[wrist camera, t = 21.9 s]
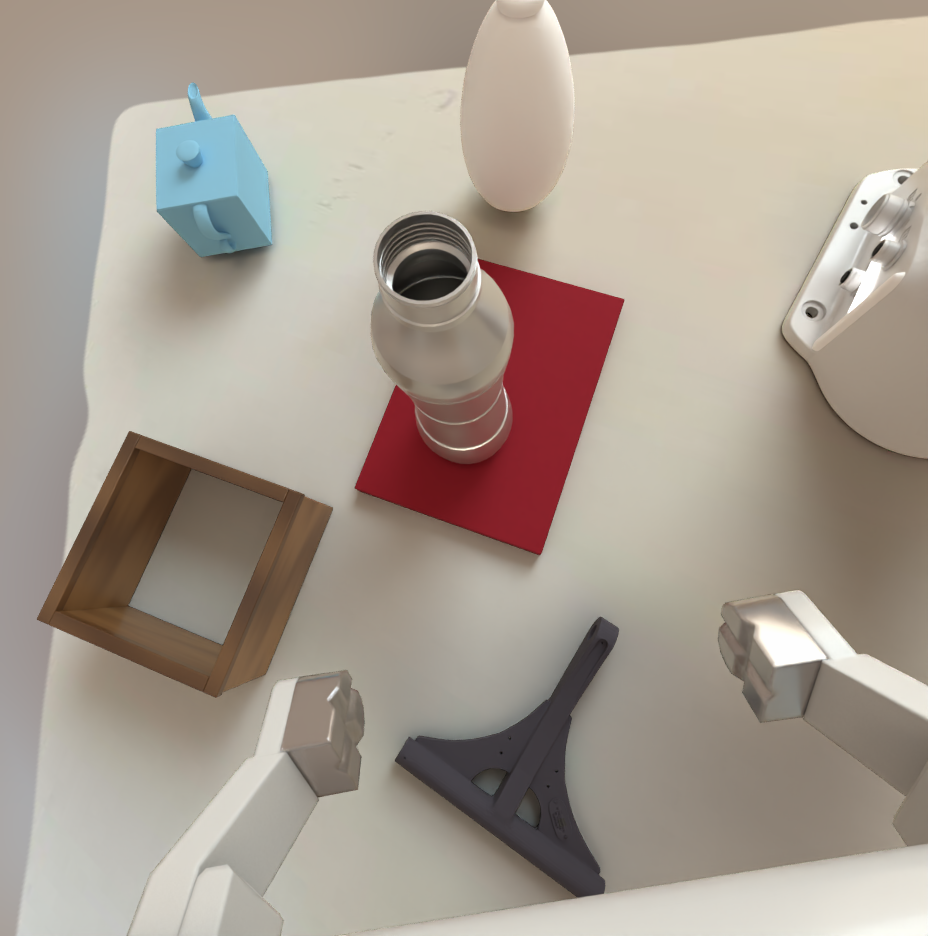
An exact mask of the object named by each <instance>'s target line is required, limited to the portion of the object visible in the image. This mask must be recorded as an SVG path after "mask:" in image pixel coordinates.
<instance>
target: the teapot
mask: <svg viewBox="0 0 928 936" xmlns="http://www.w3.org/2000/svg"><path fill="white" fill-rule="evenodd" d="M188 98H189V102H190V105H191V109H192V112H193V115H194V119H195V122H191V123H186V124H181V125H175V126H170V127H165V128H160V129H156V205H157V212H158V213H159V214H160V215H161V216H162V217H163V218H164V219H165V220H166V222H167V223H168V224H169V225H170V226H171V227H172V228H173V229H174V230H175V231H176V232H177V233H178V234H179V235H180V236H181V237H182V238H183V239H184V240H185V241H186V243H187V244H188V245H189V246H190V247H191V248H192V249H193V250H194V251H195V252H196V253H197V254H198V255H199V256H200V257H204V256H210V255H216V254H222V253H233V252H234V251H239V250H245V249H251V248H256V247H262V246H268V245H272V235H271V218H270V202H269V186H268V171H267V169H266V168H265V166H264V164H263V163H262V161H261V159H260V157H259V156H258V154H257V152H256V151H255V149H254V147H253V145H252V144H251V142H250V140H249V139H248V137H247V135H246V133H245V132H244V130H243V128H242V127H241V125H240V123H239V121H238V120H237V118H236V116H235V115H230V116H225V117H219V118H213V119H212V117H211V116H210V114H209V113H208V111H207V109H206V108H205V106H204V104H203V101H202V99H201V96H200V93H199V89H198V87H197V85H196V84H195V83H191V84H190V85H189V87H188Z"/></svg>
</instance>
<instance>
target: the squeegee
mask: <svg viewBox="0 0 928 936" xmlns="http://www.w3.org/2000/svg"><path fill="white" fill-rule="evenodd" d="M618 633H619V628H617V627H616V626H615V625H613V624H611V623H610V622H608V621H607V620H605V619H604V618H602V617H599V618H598V619H597V620H596V621H595V622H594V624H593V625H592V627H591V628H590V630H589V631H588V633H587V635H586V636H585V638H584V640H583V642H582V643H581V645H580V647H579V649H578V650H577V652H576V654H575V656H574V657H573V659H572V661H571V662H570V664H569V666H568V668H567V669H566V671H565V673H564V675H563V676H562V678H561V680H560V682H559V683H558V685H557V687H556V689H555V690H554V692H553V694H552V696H551V697H550V699H549V701H548V700H545V701H544V702H543V703H542V704H541V705H540V706H539V707H538V708H536V709H535V710H534V711H533V712H532V713H531V714H530V715H528V716H527V717H526V718H524V719H523V720H521V721H520V722H519V723H517V724H515V725H513V726H511V727H510V728H508V729H506V730H504V731H502V732H500V733H497V734H493V735H489V736H486V737H481V738H476V739H468V740H444V739H436V738H430V737H424V736H418V737H417V738H416V740H413V739H412V738H410V737H409V738H408V739H407V741H406V742H405V744H404V746H403V747H402V749H401V751H400V752H399V754H398V756H397V757H396V759H395V762H397V763H398V764H399V765H401V766H402V767H403V768H405V769H406V770H407V771H409V772H410V773H411V774H413V775H414V776H415V777H417V778H418V779H419V780H421V781H422V782H423V783H425V784H426V785H427V786H429V787H430V788H432V789H433V790H434V791H436V792H437V793H438V794H440V795H441V796H442V797H444V798H445V799H446V800H448V801H449V802H450V803H452V804H453V805H454V806H456V807H457V808H458V809H460V810H461V811H462V812H464V813H465V814H466V815H468V816H469V817H470V818H472V819H473V820H474V821H476V822H477V823H478V824H480V825H481V826H482V827H484V828H485V829H487V830H488V831H489V832H491V833H492V834H493V835H495V836H496V837H497V838H499V839H500V840H501V841H503V842H504V843H505V844H507V845H508V846H509V847H511V848H512V849H513V850H515V851H516V852H517V853H519V854H520V855H521V856H523V857H524V858H525V859H527V860H528V861H529V862H531V863H532V864H533V865H535V866H536V867H537V868H539V869H540V870H542V871H543V872H544V873H546V874H547V875H548V876H550V877H551V878H552V879H554V880H555V881H556V882H558V883H559V884H560V885H562V886H563V887H564V888H566V889H567V890H568V891H570V892H571V893H572V894H574V895H575V896H576V897H578V898H580V897H586V896H593V895H599V894H604V891H605V880H604V879H603V878H602V877H600V876H599V873H600V867H599V865H598V864H597V862H596V860H595V859H594V857H593V856H592V854H591V852H590V851H589V849H588V847H587V845H586V843H585V842H584V840H583V838H582V836H581V834H580V832H579V829H578V827H577V825H576V822H575V820H574V817H573V814H572V811H571V807H570V804H569V799H568V795H567V789H566V784H565V751H566V743H567V737H568V733H569V729H570V724H571V720H572V718H571V716H570V714H571V712H572V710H573V709H574V707H575V705H576V704H577V702H578V700H579V699H580V697H581V696H582V694H583V693H584V691H585V690H586V688H587V687H588V685H589V683H590V682H591V680H592V679H593V677H594V676H595V674H596V673H597V671H598V670H599V668H600V666H601V665H602V663H603V662H604V660H605V659H606V658H607V656H608V655H609V653H610V652H611V650H612V649H613V647H614V645H615V642H616V640H617V637H618ZM508 737H511V738H508ZM500 752H502V753H500ZM490 768H498V769H502V770H505V771H507V774H506V776H505V778H504V779H503V781H502V783H501V785H500V786H499V788H498V790H497V791H496V793H495V794H494V795H493V796H491V795H489V794H487V793H486V792H484V791H483V790H481V789H480V788H479V787H477V786H476V785H475V784H473V783H472V782H471V780H472V779H473V778H474V777H475V776H476V775H477V774H478V773H480V772H481V771H483V770H486V769H490ZM555 770H557V771H555ZM547 785H549V786H547ZM528 787H529V788H531V789H532V790H533V792H534V793H535V795H536V796H537V798H538V800H539V803H540V807H541V816H540V821H539V824H538V827H537V829H535V828H533V827H532V826H531V825H529V824H528V823H527V822H525V821H524V820H522V819H521V818H520V817H519V816H518V815H516V814H515V812H516V810H517V808H518V806H519V804H520V802H521V801H522V799H523V797H524V795H525V793H526V791H527V789H528Z"/></svg>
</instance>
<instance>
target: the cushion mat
mask: <svg viewBox="0 0 928 936" xmlns="http://www.w3.org/2000/svg"><path fill="white" fill-rule="evenodd" d="M478 263H479V266H480V269H482V270H484V271H485V272H486V273H487V274H488V275H489V276H490V277H491V278H492V279H493V280H494V281H495V283H496V284H497V285H498V287H499V288H500V290H501V291H502V293H503V295H504V296H505V298H506V300H507V302H508V305H509V307H510V309H511V313H512V317H513V322H514V338H513V344H512V349H511V354H510V358H509V361H508V364H507V366H506V369H505V372H504V375H503V386H504V388H505V390H506V392H507V395H508V397H509V400H510V403H511V407H512V426H511V430H510V433H509V435H508V437H507V439H506V441H505V442H504V444H503V445H502V446H501V448H500V449H499V450H498V451H497V452H496V453H495V454H494V455H493V456H491V457H489V458H488V459H486V460H483V461H481V462H478V463H472V464H460V463H455V462H452V461H449V460H447V459H445V458H443V457H441V456H439V455H438V454H436V453H435V452H433V451H432V450H431V449H430V448H429V447H428V446H427V445H426V443H425V442H424V440H423V439H422V437H421V435H420V433H419V430H418V427H417V422H416V416H415V405H414V402H413V401H412V399H411V398H410V397H409V396H408V395H407V394H406V393H405V392H404V391H403V390H402V389H401V388H399V387H398V386H397V385H396V386H395V389H394V391H393V394H392V396H391V399H390V401H389V403H388V406H387V408H386V411H385V413H384V416H383V418H382V421H381V423H380V426H379V428H378V431H377V433H376V436H375V438H374V441H373V443H372V446H371V448H370V451H369V453H368V456H367V458H366V461H365V463H364V466H363V468H362V471H361V473H360V476H359V478H358V481H357V483H356V486H355V489H357V490H358V491H361V492H363V493H366V494H369V495H372V496H375V497H377V498H380V499H383V500H386V501H389V502H391V503H394V504H397V505H400V506H403V507H406V508H408V509H411V510H414V511H417V512H420V513H422V514H425V515H428V516H431V517H434V518H436V519H439V520H442V521H445V522H448V523H450V524H453V525H456V526H459V527H462V528H464V529H467V530H470V531H473V532H476V533H479V534H481V535H484V536H487V537H490V538H493V539H495V540H498V541H501V542H504V543H507V544H509V545H512V546H515V547H518V548H521V549H523V550H526V551H529V552H532V553H535V554H538V555H541V553H542V550H543V547H544V544H545V541H546V538H547V535H548V532H549V529H550V526H551V523H552V520H553V516H554V513H555V510H556V507H557V504H558V501H559V498H560V495H561V492H562V489H563V486H564V483H565V480H566V477H567V474H568V471H569V468H570V465H571V462H572V459H573V455H574V452H575V449H576V446H577V443H578V440H579V437H580V434H581V431H582V428H583V425H584V422H585V419H586V416H587V413H588V410H589V407H590V404H591V401H592V397H593V394H594V391H595V388H596V385H597V382H598V379H599V376H600V373H601V370H602V367H603V364H604V361H605V358H606V355H607V352H608V349H609V346H610V343H611V340H612V336H613V333H614V330H615V327H616V324H617V321H618V318H619V315H620V312H621V309H622V306H623V303H624V299H621V298H618V297H614V296H610V295H607V294H603V293H600V292H596V291H592V290H589V289H585V288H582V287H578V286H574V285H571V284H567V283H563V282H560V281H556V280H553V279H549V278H545V277H542V276H538V275H535V274H531V273H527V272H524V271H520V270H516V269H513V268H509V267H506V266H502V265H498V264H495V263H491V262H488V261H484V260H480V259H478Z"/></svg>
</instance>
